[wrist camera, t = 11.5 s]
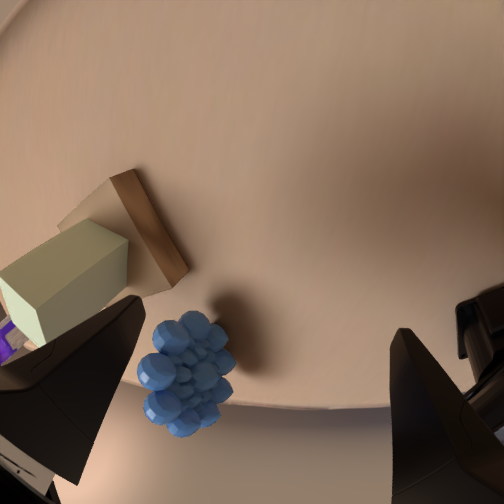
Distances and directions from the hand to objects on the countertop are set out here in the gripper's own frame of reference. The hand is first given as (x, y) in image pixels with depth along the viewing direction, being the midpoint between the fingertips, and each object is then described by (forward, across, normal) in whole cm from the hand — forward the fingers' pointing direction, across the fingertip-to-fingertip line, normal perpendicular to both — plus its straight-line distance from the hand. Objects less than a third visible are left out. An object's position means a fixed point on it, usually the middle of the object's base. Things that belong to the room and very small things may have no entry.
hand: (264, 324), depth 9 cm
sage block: (+10, +15, +6) cm, 19 cm away
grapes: (+12, +7, +14) cm, 20 cm away
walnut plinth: (+13, +15, +6) cm, 21 cm away
